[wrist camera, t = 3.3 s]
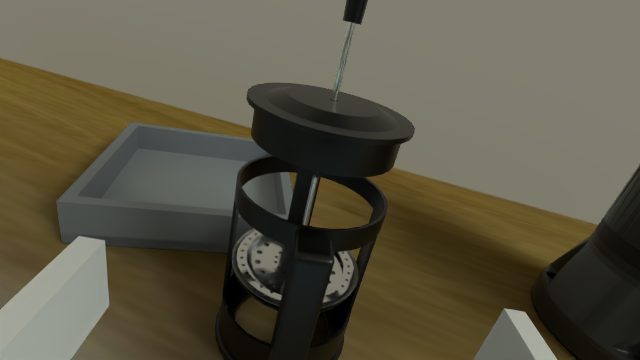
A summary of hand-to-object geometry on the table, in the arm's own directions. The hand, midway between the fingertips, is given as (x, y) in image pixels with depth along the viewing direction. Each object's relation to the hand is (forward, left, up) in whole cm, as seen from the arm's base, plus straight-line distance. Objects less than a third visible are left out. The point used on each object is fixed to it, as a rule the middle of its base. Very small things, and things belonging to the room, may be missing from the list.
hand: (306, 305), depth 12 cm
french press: (-2, -9, -13) cm, 16 cm away
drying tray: (+6, -27, -13) cm, 31 cm away
